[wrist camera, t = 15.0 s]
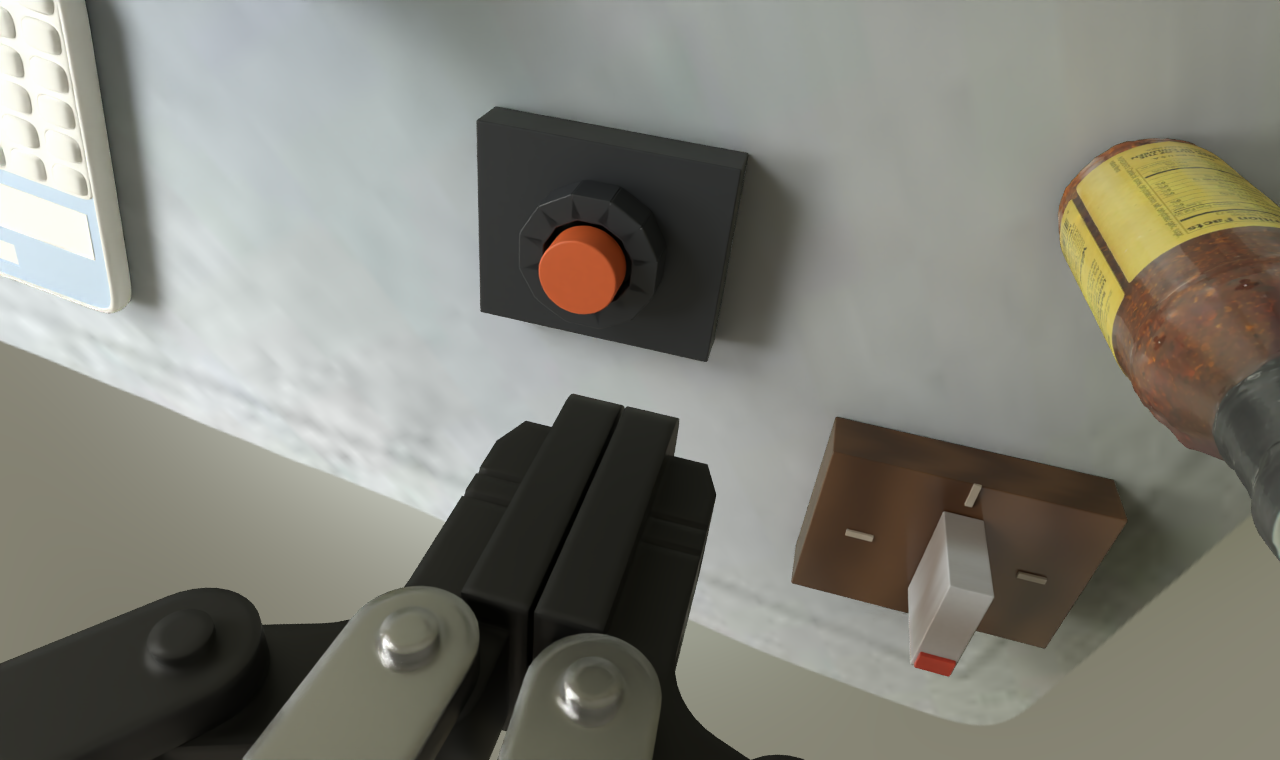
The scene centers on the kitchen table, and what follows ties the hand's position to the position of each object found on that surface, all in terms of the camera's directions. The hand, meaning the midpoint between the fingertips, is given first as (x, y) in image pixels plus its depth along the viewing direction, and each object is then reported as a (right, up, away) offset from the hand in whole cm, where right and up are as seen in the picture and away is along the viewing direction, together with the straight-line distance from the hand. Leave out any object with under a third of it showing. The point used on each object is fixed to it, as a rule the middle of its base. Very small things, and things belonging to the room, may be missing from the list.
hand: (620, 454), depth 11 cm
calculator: (-35, +15, +34) cm, 51 cm away
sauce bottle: (+21, +9, +22) cm, 31 cm away
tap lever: (+16, -8, +31) cm, 36 cm away
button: (-2, +6, +25) cm, 26 cm away
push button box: (-1, +8, +28) cm, 30 cm away
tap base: (+17, -6, +33) cm, 38 cm away
